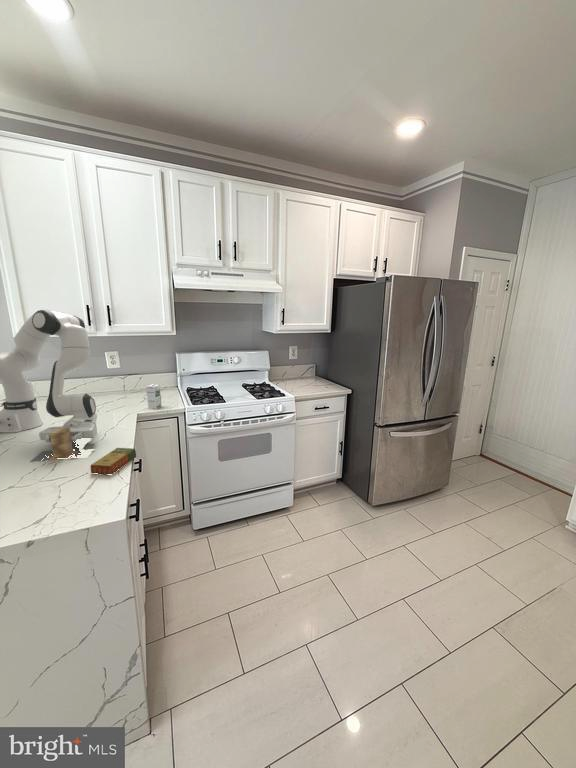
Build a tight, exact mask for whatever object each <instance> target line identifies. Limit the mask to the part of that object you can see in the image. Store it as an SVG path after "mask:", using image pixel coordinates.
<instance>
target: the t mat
mask: <svg viewBox="0 0 576 768" xmlns="http://www.w3.org/2000/svg"><path fill="white" fill-rule="evenodd" d="M74 442H75V441H74ZM74 442H73V441H72V448H73V449H75V451H73V454H75V456H76V457H77V455H81V454H78V453H81V452H80V451H79V448H77V447H75V446H76V445H75V444H76V442H75V443H74ZM77 446H79V445H78V444H77ZM51 454H52V455H53V450H45V451H41V452H40V453H38V454H37V455H36V456H35V457H33V458H32V459H31V460H30V461H29V463H35V462H37V461H38V462H49V461H50V460H52V461H59V460H58V459H57V458H56V459H54V457H53V456H52V455H51ZM73 454H71V455H73ZM45 455H46V456H47V457H48V456H49V458H47V457H46V456H45ZM71 457H72V456H71ZM71 457H70V458H71ZM43 458H44V459H43ZM42 459H43V460H42ZM41 460H42V461H41ZM46 460H48V461H46ZM75 460H78V459H77V458H76V459H75Z"/></svg>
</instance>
